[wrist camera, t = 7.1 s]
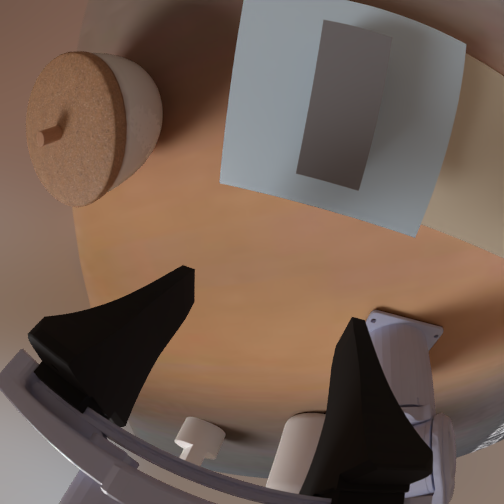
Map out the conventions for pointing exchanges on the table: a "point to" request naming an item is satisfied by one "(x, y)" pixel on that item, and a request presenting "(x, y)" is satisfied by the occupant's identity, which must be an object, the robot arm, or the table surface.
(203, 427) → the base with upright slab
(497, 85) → the mat
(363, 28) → the cover
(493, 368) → the table surface
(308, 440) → the wine bottle
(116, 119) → the lidded jar
